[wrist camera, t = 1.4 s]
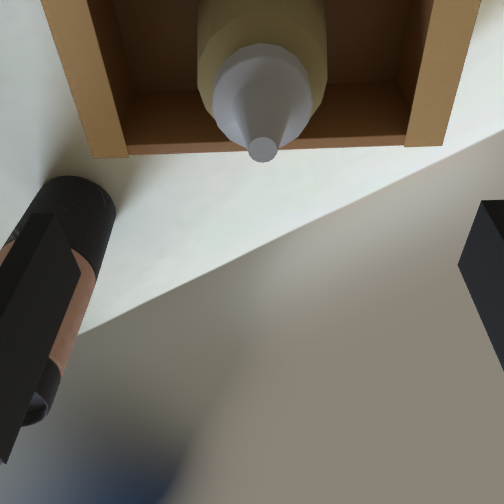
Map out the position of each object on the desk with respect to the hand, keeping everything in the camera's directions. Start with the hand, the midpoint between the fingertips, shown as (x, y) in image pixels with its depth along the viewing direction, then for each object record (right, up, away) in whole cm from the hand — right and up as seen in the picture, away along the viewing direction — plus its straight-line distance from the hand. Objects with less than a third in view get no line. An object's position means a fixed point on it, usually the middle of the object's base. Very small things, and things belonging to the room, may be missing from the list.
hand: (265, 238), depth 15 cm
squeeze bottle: (0, +16, +17) cm, 23 cm away
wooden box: (0, +16, +17) cm, 23 cm away
